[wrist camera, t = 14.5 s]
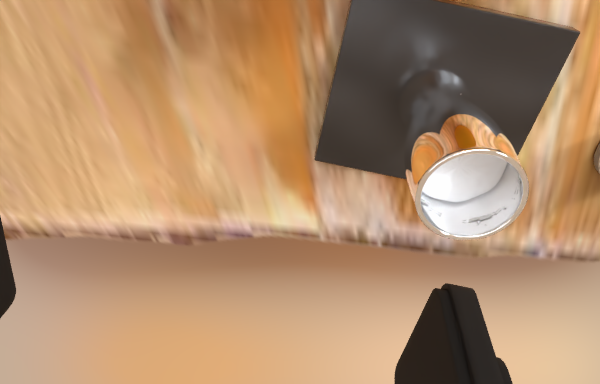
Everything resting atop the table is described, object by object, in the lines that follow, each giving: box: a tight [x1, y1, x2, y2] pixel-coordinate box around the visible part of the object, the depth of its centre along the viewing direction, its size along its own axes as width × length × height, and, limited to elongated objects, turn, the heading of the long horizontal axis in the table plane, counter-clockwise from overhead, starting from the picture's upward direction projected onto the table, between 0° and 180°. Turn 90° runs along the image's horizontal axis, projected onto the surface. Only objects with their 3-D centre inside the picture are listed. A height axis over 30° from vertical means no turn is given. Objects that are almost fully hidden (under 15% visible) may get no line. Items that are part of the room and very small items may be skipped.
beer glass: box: [398, 69, 529, 240], centre depth 34 cm, size 7×7×15 cm
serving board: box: [315, 0, 580, 179], centre depth 41 cm, size 16×18×2 cm
